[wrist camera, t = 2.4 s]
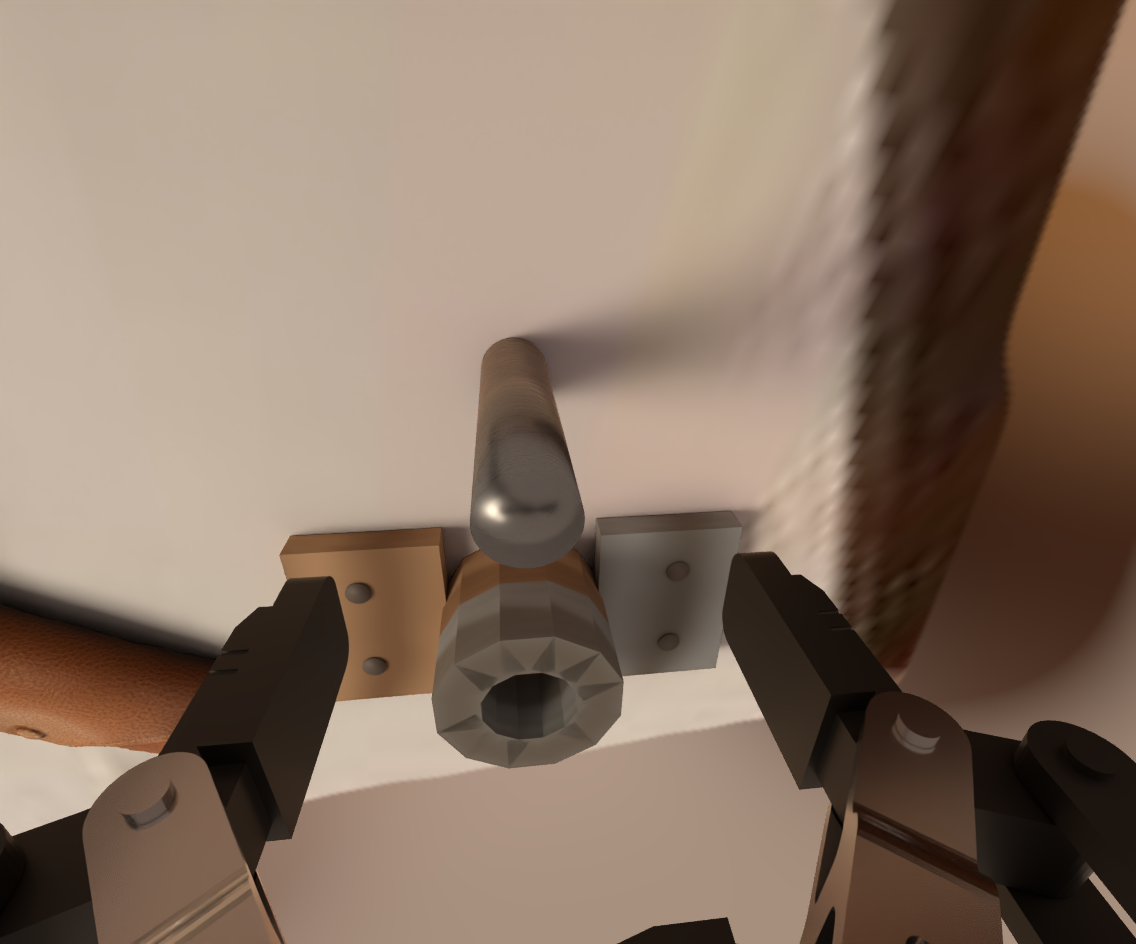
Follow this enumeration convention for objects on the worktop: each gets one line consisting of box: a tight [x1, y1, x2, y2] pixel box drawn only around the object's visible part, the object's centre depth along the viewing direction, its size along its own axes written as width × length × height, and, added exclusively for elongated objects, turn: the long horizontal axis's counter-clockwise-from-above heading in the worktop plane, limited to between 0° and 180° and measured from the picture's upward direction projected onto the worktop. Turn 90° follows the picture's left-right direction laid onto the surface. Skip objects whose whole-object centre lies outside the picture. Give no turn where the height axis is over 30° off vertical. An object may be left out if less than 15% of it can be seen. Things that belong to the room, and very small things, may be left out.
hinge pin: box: [470, 338, 585, 568], centre depth 19 cm, size 3×3×12 cm
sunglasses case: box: [0, 605, 215, 754], centre depth 28 cm, size 18×7×7 cm, turn 59°
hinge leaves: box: [280, 511, 743, 768], centre depth 27 cm, size 22×10×7 cm, turn 90°
